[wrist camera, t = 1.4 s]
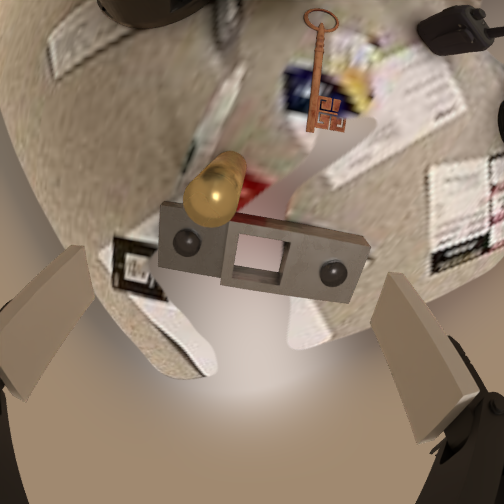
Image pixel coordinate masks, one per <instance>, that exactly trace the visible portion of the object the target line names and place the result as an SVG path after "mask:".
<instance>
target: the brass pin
mask: <svg viewBox="0 0 504 504" xmlns="http://www.w3.org/2000/svg"><path fill="white" fill-rule="evenodd" d="M246 169H247V165H246V161H245V159H244V158H243V157H242V156H241V155H240V154H239V153H237V152H234V151H226V152H223V153H221V154H220V155H218V156H217V157H216V158H215V159H214V160H213V161H212V162H211V163H210V164H209V165H208V166H207V167H206V168H205V169H204V170H203V171H202V172H201V173H200V174H199V175H198V176H196V177H195V178H194V179H193V180H192V181H191V182H190V184H189V185H188V186H187V188H186V190H185V192H184V196H183V205H184V209H185V211H186V213H187V215H188V216H189V217H190V219H191V220H193V221H194V222H195V223H197V224H199V225H201V226H204V227H210V228H213V227H219V226H222V225H224V224H226V223H227V222H228V221H230V220H231V219H232V217H233V216H234V214H235V212H236V210H237V206H238V202H239V197H240V193H241V189H242V186H243V182H244V178H245V174H246Z"/></svg>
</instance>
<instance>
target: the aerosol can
mask: <svg viewBox="0 0 504 504" xmlns="http://www.w3.org/2000/svg"><path fill="white" fill-rule="evenodd" d="M498 121H499V129H500V133H501V137H502V139H503V141H504V101H503V102H502V104H501V106H500V110H499V118H498Z"/></svg>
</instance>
